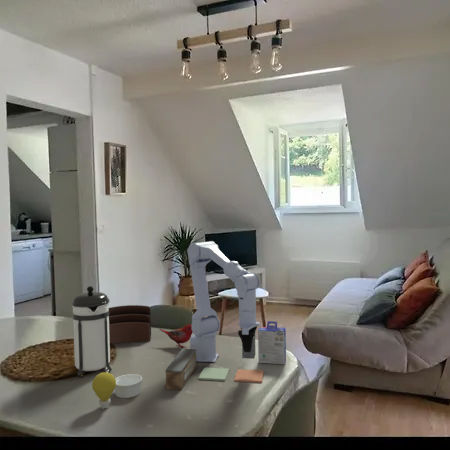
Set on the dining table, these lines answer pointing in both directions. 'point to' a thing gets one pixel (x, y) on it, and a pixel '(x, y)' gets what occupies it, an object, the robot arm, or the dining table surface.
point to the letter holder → (129, 324)
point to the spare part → (249, 354)
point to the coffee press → (91, 331)
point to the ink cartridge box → (272, 344)
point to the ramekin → (128, 385)
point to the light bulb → (104, 388)
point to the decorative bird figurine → (180, 334)
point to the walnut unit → (180, 369)
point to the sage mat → (214, 374)
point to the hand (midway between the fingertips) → (248, 349)
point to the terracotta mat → (249, 376)
